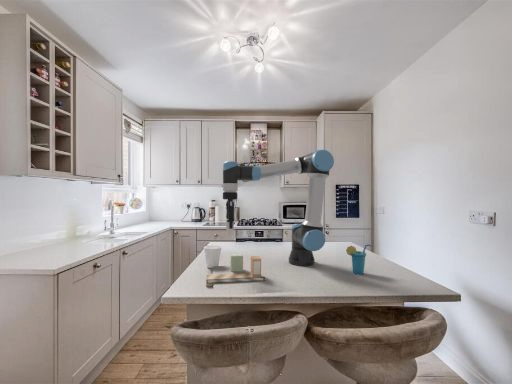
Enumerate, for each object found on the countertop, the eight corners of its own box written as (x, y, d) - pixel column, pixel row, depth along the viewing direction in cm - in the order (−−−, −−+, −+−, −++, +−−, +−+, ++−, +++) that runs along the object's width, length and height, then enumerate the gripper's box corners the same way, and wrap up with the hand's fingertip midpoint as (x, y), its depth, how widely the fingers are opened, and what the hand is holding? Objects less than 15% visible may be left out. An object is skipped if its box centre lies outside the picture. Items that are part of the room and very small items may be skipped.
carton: (230, 271, 136) (230, 254, 136) (242, 271, 137) (242, 253, 138) (231, 274, 132) (231, 256, 133) (243, 273, 134) (243, 255, 134)
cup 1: (218, 270, 139) (218, 249, 139) (200, 268, 141) (200, 248, 141) (224, 265, 149) (224, 245, 149) (207, 263, 151) (207, 244, 151)
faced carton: (258, 274, 128) (258, 255, 128) (261, 278, 122) (261, 259, 122) (250, 274, 128) (250, 256, 128) (252, 278, 122) (252, 259, 122)
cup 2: (368, 270, 141) (368, 242, 141) (376, 275, 133) (376, 245, 133) (343, 271, 139) (343, 243, 139) (350, 276, 131) (351, 246, 131)
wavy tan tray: (259, 275, 131) (259, 269, 131) (264, 283, 119) (264, 277, 119) (206, 277, 126) (206, 271, 126) (206, 286, 115) (206, 279, 115)
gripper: (221, 191, 146) (221, 229, 146) (224, 191, 122) (223, 237, 122) (235, 191, 148) (234, 229, 148) (240, 191, 123) (239, 237, 123)
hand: (229, 233), depth 135 cm, fingers open, 13 cm apart
